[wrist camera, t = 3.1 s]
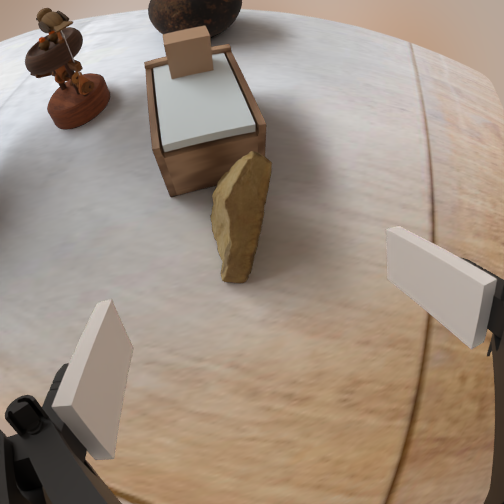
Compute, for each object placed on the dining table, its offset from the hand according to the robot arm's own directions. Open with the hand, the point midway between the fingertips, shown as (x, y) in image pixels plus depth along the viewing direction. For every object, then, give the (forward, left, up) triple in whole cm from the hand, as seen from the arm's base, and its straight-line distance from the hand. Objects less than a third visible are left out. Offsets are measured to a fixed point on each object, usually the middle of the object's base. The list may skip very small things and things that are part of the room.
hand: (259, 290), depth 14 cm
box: (0, +26, -16) cm, 31 cm away
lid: (0, +25, -9) cm, 27 cm away
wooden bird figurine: (-19, +42, -17) cm, 49 cm away
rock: (0, +11, -17) cm, 20 cm away
